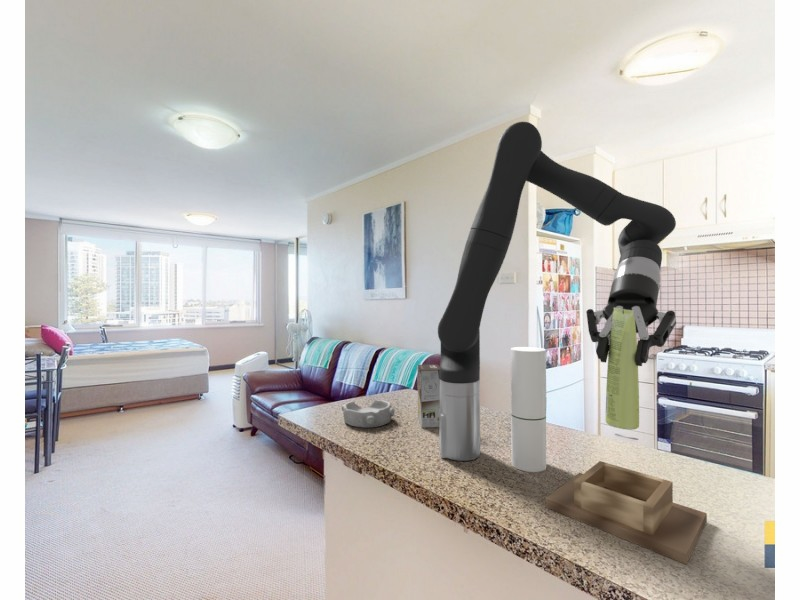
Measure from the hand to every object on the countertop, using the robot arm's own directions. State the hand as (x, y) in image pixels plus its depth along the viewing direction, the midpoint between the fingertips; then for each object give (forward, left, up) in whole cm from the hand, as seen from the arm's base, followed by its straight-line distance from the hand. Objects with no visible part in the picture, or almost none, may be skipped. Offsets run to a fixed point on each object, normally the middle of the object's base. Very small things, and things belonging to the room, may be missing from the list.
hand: (620, 360), depth 64 cm
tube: (+1, +2, -11) cm, 11 cm away
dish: (-47, +49, -26) cm, 73 cm away
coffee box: (-29, +48, -26) cm, 62 cm away
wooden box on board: (+1, +1, -26) cm, 26 cm away
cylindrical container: (-9, +20, -26) cm, 34 cm away
